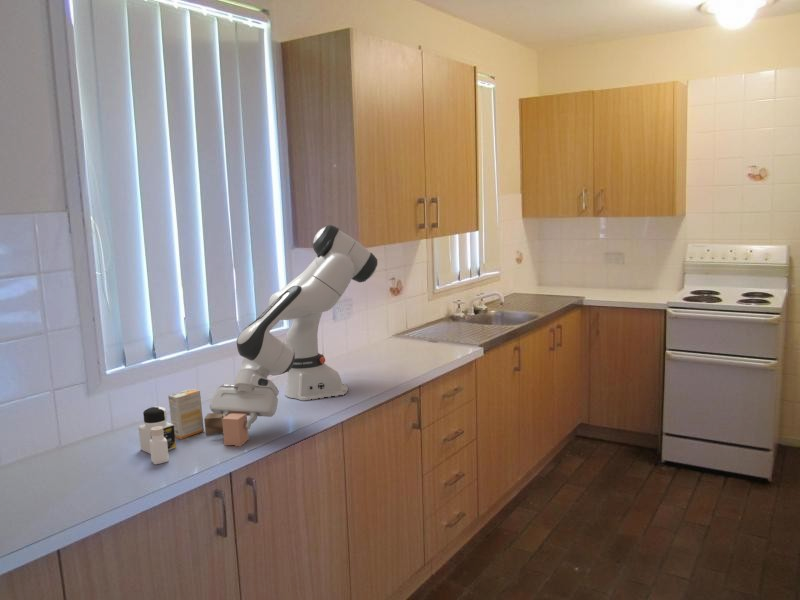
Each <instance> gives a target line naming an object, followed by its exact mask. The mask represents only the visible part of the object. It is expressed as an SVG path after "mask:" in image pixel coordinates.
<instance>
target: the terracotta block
mask: <svg viewBox="0 0 800 600" xmlns="http://www.w3.org/2000/svg"><path fill="white" fill-rule="evenodd" d="M244 421H248V416H247V414H239V413H230V414H229V415H227V416H226V417H224V418H222V422H223V433H222V434H223V444H224V446H225V445H235V446H234V447H242V444H243V445H244V444H246V443H247V442H248V441H249V429H244V428H243V425H244ZM247 440H248V441H247ZM246 441H247V442H246ZM245 442H246V443H245Z"/></svg>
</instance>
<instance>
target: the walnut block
mask: <svg viewBox="0 0 800 600" xmlns="http://www.w3.org/2000/svg"><path fill="white" fill-rule="evenodd" d="M222 418H224V417H223V414H214V413H213V412H212V413H210V412H209V413H207V414H206V415H205V417H204V419H203V422H204V429H205V430H204V431H205V435H214V433H218V434H223V422H222Z"/></svg>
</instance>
